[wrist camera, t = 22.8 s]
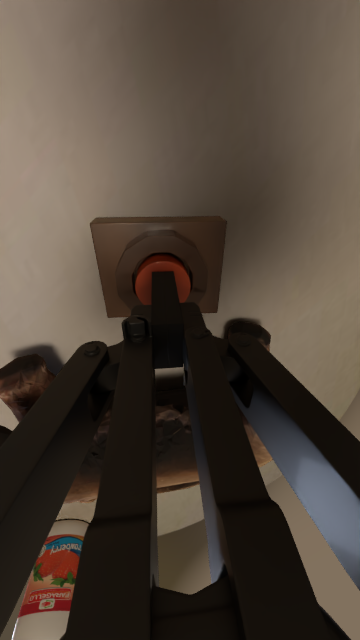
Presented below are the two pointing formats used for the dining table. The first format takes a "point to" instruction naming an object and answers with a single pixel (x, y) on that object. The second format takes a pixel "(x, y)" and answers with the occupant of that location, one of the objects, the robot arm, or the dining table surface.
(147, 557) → the robot arm
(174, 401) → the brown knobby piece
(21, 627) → the fruit juice
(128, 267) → the button block
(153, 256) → the button
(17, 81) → the dining table surface
